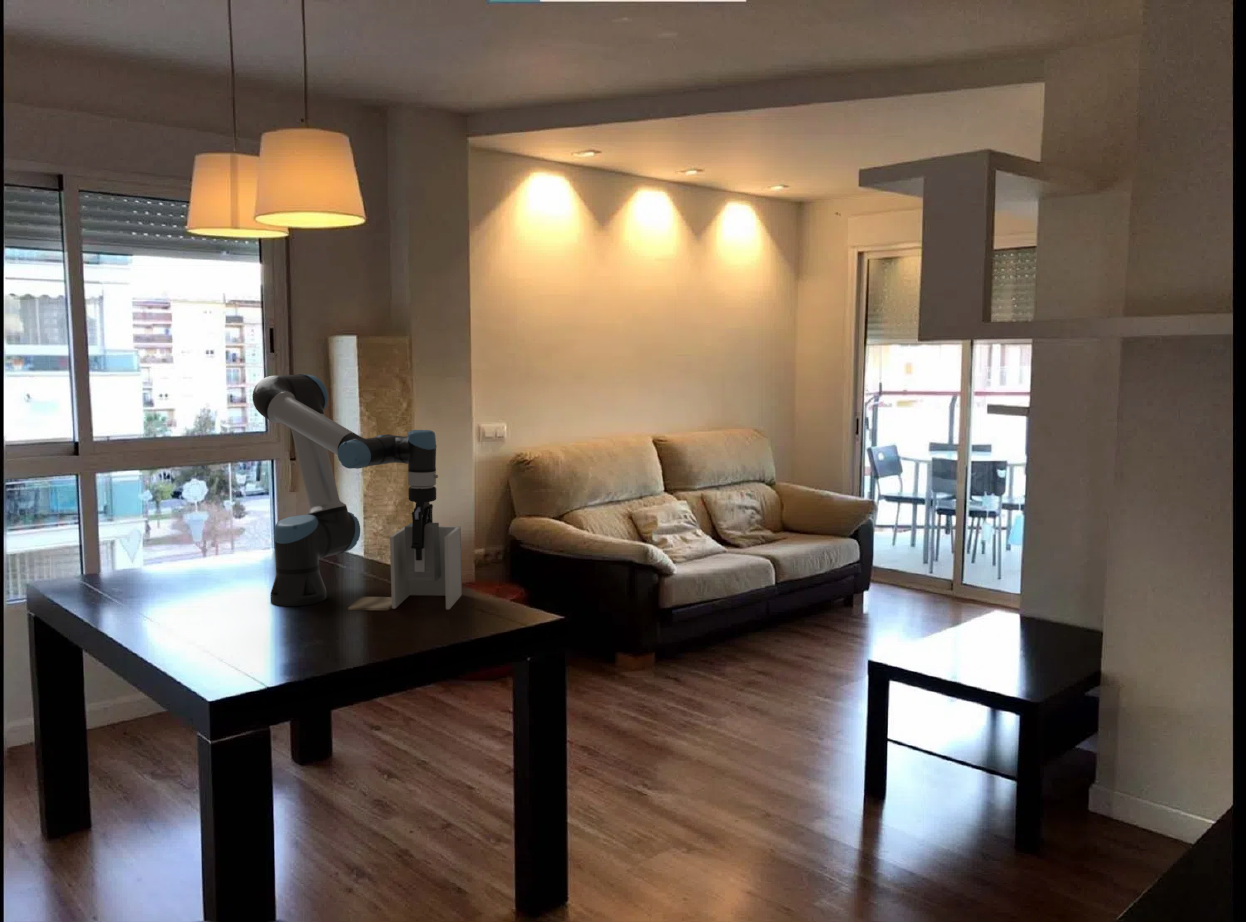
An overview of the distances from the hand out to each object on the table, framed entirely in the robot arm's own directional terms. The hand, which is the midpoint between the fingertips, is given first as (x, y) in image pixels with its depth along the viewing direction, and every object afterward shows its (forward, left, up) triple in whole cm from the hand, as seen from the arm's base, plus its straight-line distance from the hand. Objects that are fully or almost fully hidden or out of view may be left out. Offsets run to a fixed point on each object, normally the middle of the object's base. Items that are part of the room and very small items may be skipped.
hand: (423, 568), depth 280 cm
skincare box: (0, 0, -3) cm, 3 cm away
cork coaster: (-14, -1, -10) cm, 17 cm away
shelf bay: (0, +3, -10) cm, 11 cm away
